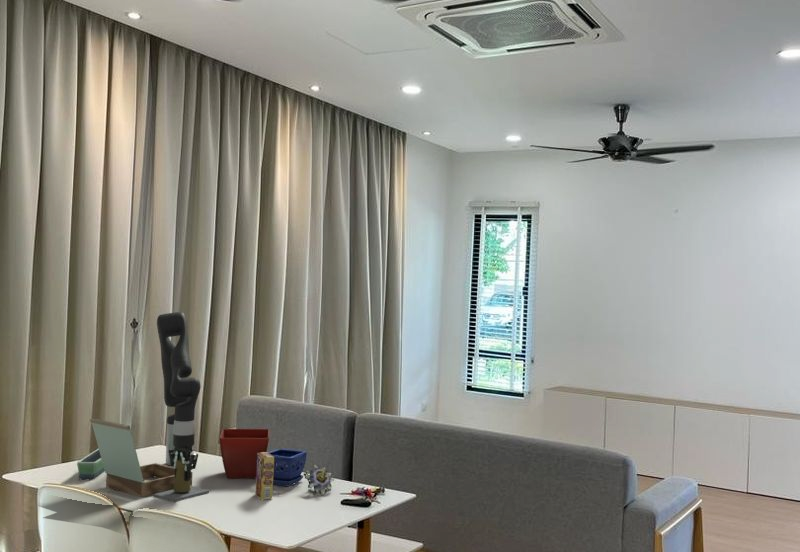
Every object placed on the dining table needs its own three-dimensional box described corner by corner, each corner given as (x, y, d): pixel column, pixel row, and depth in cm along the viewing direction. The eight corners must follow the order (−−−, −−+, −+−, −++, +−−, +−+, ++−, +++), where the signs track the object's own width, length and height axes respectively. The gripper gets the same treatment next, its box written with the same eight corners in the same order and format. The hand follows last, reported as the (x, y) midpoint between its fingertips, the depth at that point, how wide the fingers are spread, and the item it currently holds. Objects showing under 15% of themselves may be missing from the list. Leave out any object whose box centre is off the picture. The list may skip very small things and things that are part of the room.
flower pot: (260, 484, 294) (261, 453, 294) (278, 477, 307) (279, 447, 307) (290, 489, 289) (291, 457, 289) (307, 481, 302) (308, 451, 302)
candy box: (273, 499, 275) (274, 456, 275) (261, 500, 273) (263, 457, 273) (266, 493, 283) (267, 451, 283) (255, 494, 281) (256, 452, 281)
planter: (98, 464, 320) (99, 447, 321) (116, 464, 321) (116, 447, 321) (75, 481, 293) (76, 462, 293) (94, 481, 293) (95, 462, 294)
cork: (175, 487, 280) (176, 457, 281) (192, 487, 281) (192, 457, 281) (171, 492, 274) (172, 461, 275) (188, 492, 275) (189, 461, 275)
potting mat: (189, 487, 287) (189, 485, 287) (209, 492, 281) (209, 490, 281) (153, 496, 274) (154, 494, 274) (174, 501, 268) (174, 499, 268)
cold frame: (154, 475, 303) (155, 463, 303) (192, 485, 291) (192, 471, 291) (106, 486, 285) (106, 473, 285) (143, 497, 273) (143, 483, 273)
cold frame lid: (92, 418, 280) (89, 419, 279) (129, 425, 268) (127, 426, 267) (106, 472, 285) (104, 473, 284) (143, 481, 273) (141, 483, 272)
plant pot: (267, 480, 301) (268, 437, 301) (218, 481, 298) (219, 437, 298) (268, 469, 320) (269, 428, 320) (221, 469, 317) (222, 428, 317)
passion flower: (321, 508, 283) (311, 486, 277) (303, 497, 291) (292, 475, 285) (342, 487, 290) (333, 465, 283) (323, 477, 297) (314, 455, 291)
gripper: (205, 433, 277) (203, 480, 277) (179, 428, 285) (177, 474, 285) (188, 436, 271) (187, 485, 271) (162, 431, 279) (161, 478, 279)
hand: (182, 479), depth 278 cm, fingers closed on cork, 4 cm apart
